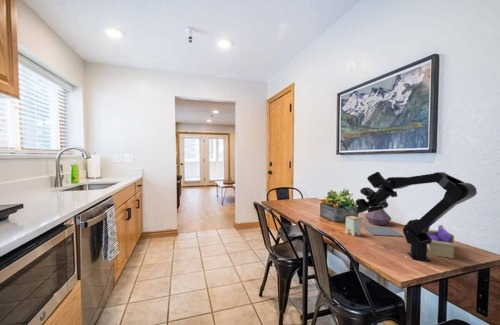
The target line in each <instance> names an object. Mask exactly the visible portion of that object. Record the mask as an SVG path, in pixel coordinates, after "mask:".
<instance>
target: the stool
mask: <svg viewBox="0 0 500 325" xmlns="http://www.w3.org/2000/svg"><path fill="white" fill-rule="evenodd" d="M349 231H350V232H349ZM349 233H351V236H353V237H355V236H356V235H357V236H361V217H358V216H354V215H349V216H345V234H349Z"/></svg>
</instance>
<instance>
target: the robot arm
mask: <svg viewBox="0 0 500 325" xmlns="http://www.w3.org/2000/svg"><path fill="white" fill-rule="evenodd" d="M367 181H368V182H369V183H370V184H371V186H372V187H373V188H374V189H377V190H376V191H375V190H374V189H372V188H371V187H362V188H361V189H360V190H359V191H360V194H362V195H363V196H365V198H357V199H356V200H355V204H356V205H357V208H356V210H355V215H356V214H357V215H359V214H362V213H366V212H367V213H368V212H373V211H377V210H381V209H384V210H385V209H387V208H388V207H389V203H388V202H387V201H388V199H389V197H391V198H397V197H398V192H397V191H396V190H401V189H404V188H407V187H409V186H414V185H415V186H416V185H422V184H423V185H424V184H432V183H433V184H434V183H437V185H439V186H440V187H441V188H442V189H443V190H445V193H444V195H443V198H442V199H441V200H439V202H437V203H436V204H435V205H434V206H433V207H432V208H431V209H430V210H428V211H427V212H426V213H425V214H424V215H423V216H422V217H420V218H419V219H418V218H417V219H411V220H408V222H407V223H406V224H405V225H403V228H402V233H403V236H404V238H405V241H406V243H407V244H409V245H410V252H407V255H408V256H409V257H410V258H411V259H412V260H415V261H425V262H431V259H430V258H429V257H428V247H427V244H430V243H431V241H432V239H431V238H430V237H429V236H428V235H427V232H428V230H430V228H431V226H432V225H433V224H435V223H436V222H437V221H439V220H440V219H441V218H442V217H444V215H446V214H447V213H448V212H450V211H451V210H452V209H453V208H454V207H455V206H457V205H460V204H461V203H464V202H466V201H467V200H470V199H471V198H474V197H475V196H476V195H477V193H478V192H477V188H476V186H475V185H474V184H472V183H469V182H465V181H462V180H461V179H459V178H456V177H454V176H451V175H449V174H448V173H446V172H444V171H443V172H442V171H440V172H439V171H437V172H434V173H433V172H432V173H427V174H420V175H415V176H414V175H413V176H392V177H391V176H390V177H387V178H385V177H384V176H383V175H382V174H381V173H380V172H379V171H375V172H374V173H371V175H368V177H367Z"/></svg>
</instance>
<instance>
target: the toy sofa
mask: <svg viewBox="0 0 500 325" xmlns="http://www.w3.org/2000/svg"><path fill="white" fill-rule="evenodd" d="M427 235H428V236H429V237H430V238H431V239H432V241H431V243H430V244H427V250H429V255H430V256H435V257H442V258H447V257H448V259H454V258H455V246H456V245H455V243H454V242H455V235H454V234H452V233H451V232H450V231H449V230H447V229H446V227H445V226H444V225H442V224H441V225H440V224H439V225H438V230H435V229H429V230H428V232H427Z"/></svg>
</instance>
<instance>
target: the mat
mask: <svg viewBox="0 0 500 325" xmlns="http://www.w3.org/2000/svg"><path fill="white" fill-rule="evenodd" d="M362 228H363V229H364V228H365V229H364V230H365V231H367V232H368V233H369V234H370V235H372V236H375V237H377V236H378V237H379V236H380V237H397V238H398V237H399V238H400V237H401V238H405V235H404V234H402V233H400V232H399V231H397V230H395V229H393V228H392V227H390V226H376V225H374V226H372V225H371V226H370V225H362Z"/></svg>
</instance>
